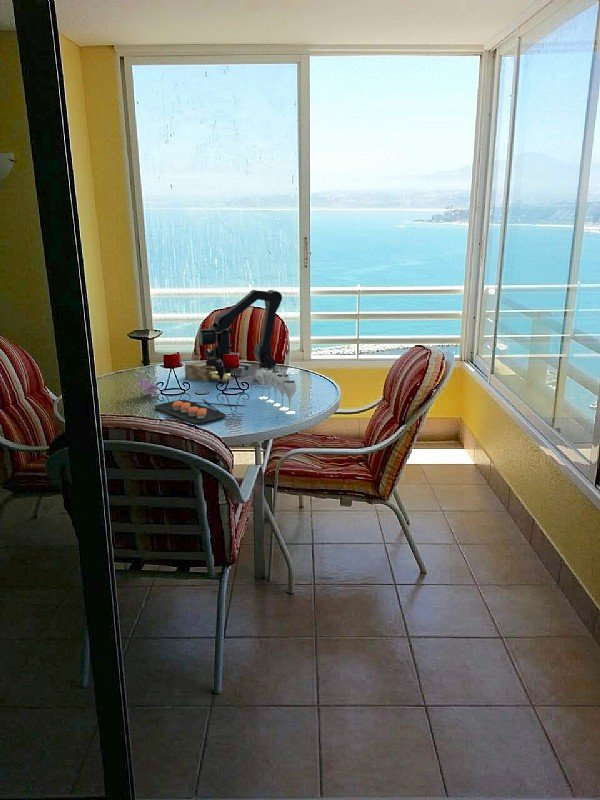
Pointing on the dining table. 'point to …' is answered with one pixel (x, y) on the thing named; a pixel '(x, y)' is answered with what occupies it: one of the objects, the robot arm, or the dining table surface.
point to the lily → (147, 386)
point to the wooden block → (198, 371)
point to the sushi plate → (192, 410)
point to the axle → (215, 376)
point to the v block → (242, 370)
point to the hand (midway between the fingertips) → (224, 378)
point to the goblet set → (276, 386)
